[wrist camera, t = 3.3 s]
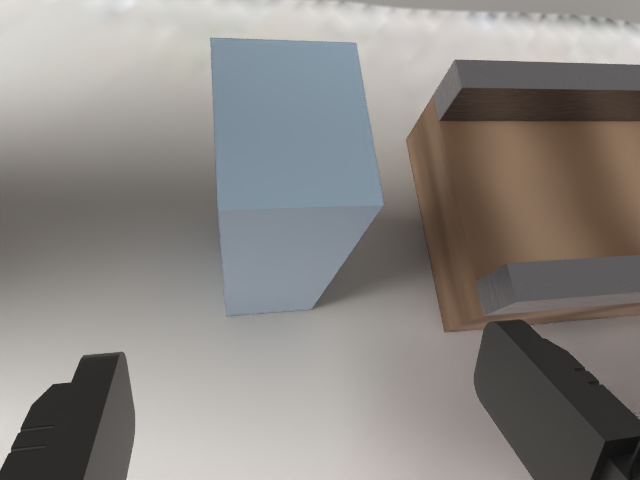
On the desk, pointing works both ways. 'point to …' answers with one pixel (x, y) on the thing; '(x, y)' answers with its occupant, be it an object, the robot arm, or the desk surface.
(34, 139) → the desk surface
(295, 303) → the pale blue box
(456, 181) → the brown wooden tray
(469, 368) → the desk surface
